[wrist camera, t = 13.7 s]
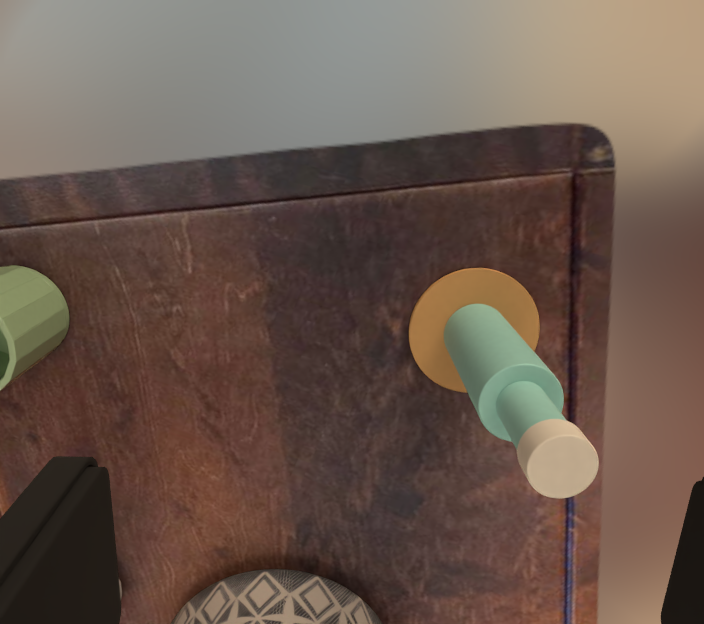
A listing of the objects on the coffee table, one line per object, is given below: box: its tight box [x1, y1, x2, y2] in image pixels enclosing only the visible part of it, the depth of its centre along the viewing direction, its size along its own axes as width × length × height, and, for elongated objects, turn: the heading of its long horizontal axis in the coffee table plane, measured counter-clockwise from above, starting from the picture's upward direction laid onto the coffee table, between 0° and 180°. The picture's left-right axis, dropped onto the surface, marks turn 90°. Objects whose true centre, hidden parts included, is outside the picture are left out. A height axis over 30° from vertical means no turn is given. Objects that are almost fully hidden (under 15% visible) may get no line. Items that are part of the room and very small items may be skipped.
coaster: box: [409, 268, 540, 393], centre depth 41 cm, size 9×9×1 cm
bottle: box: [444, 304, 599, 498], centre depth 33 cm, size 4×4×17 cm
